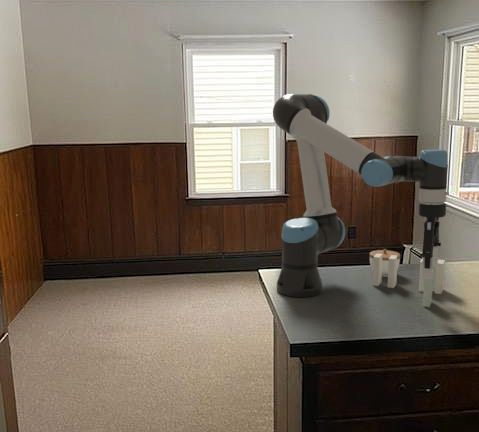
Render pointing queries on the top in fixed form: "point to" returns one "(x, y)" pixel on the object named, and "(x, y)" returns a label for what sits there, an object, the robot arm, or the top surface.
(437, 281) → the tile
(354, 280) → the top surface
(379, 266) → the tile
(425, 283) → the tile
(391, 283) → the tile
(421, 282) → the tile
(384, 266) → the lidded jar
